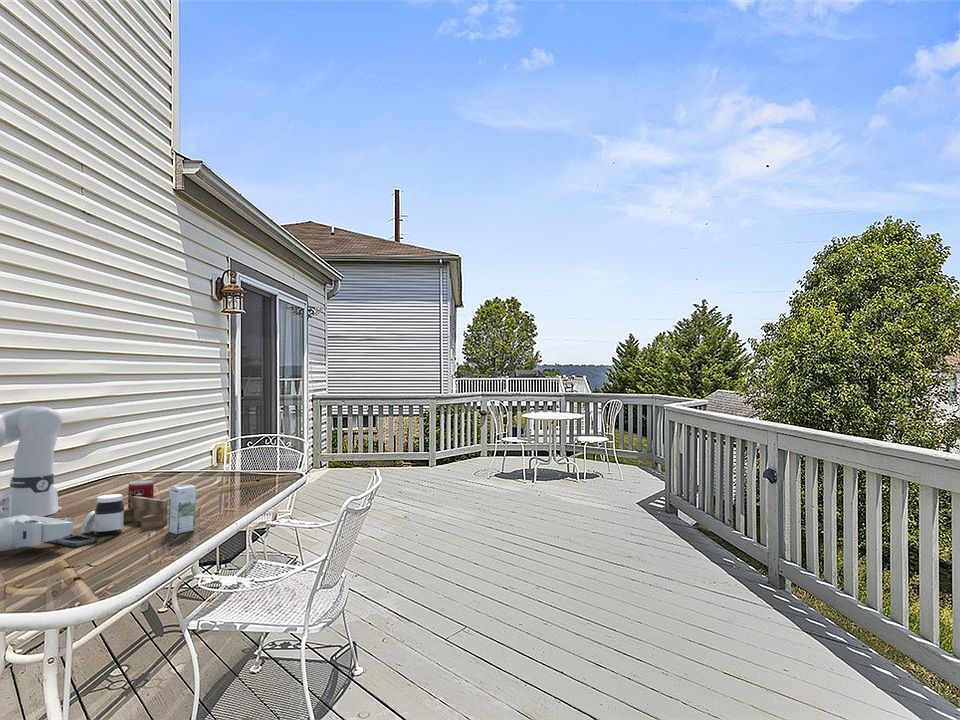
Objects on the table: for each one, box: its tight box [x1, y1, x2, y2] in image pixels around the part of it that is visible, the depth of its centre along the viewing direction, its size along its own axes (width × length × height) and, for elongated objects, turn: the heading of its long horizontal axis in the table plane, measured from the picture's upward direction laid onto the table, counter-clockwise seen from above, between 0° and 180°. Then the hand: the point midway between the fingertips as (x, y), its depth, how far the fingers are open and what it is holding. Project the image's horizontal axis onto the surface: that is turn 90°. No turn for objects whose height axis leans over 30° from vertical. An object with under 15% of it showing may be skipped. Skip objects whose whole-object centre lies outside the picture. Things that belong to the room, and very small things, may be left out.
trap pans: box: [48, 532, 98, 548], centre depth 168 cm, size 18×6×1 cm, turn 65°
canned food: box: [127, 479, 155, 509], centre depth 206 cm, size 8×8×11 cm
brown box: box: [123, 496, 169, 531], centre depth 188 cm, size 17×8×8 cm, turn 65°
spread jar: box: [80, 493, 125, 537], centre depth 177 cm, size 12×11×12 cm
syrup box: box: [167, 484, 197, 535], centre depth 180 cm, size 6×6×14 cm
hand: (70, 520), depth 169 cm, fingers closed
